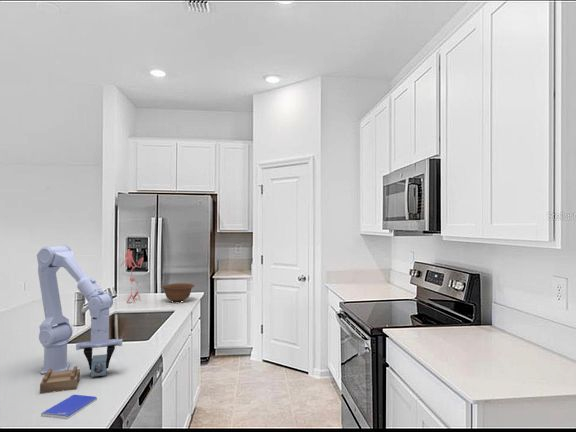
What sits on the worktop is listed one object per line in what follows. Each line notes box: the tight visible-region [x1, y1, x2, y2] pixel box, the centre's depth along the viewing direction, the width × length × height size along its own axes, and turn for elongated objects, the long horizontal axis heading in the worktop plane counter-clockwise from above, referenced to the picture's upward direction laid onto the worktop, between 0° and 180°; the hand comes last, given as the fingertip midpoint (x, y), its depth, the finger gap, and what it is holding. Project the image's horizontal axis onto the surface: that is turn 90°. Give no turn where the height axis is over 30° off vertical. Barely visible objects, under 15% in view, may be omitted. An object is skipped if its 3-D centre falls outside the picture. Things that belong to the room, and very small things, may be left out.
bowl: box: [160, 282, 195, 302], centre depth 276 cm, size 22×22×11 cm
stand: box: [39, 365, 81, 394], centre depth 134 cm, size 10×10×4 cm
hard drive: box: [40, 394, 98, 420], centre depth 118 cm, size 2×8×12 cm
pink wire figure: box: [120, 248, 145, 303], centre depth 276 cm, size 15×26×35 cm, turn 178°
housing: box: [90, 353, 108, 378], centre depth 144 cm, size 7×4×5 cm, turn 21°
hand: (99, 368), depth 144 cm, fingers closed on housing, 4 cm apart
